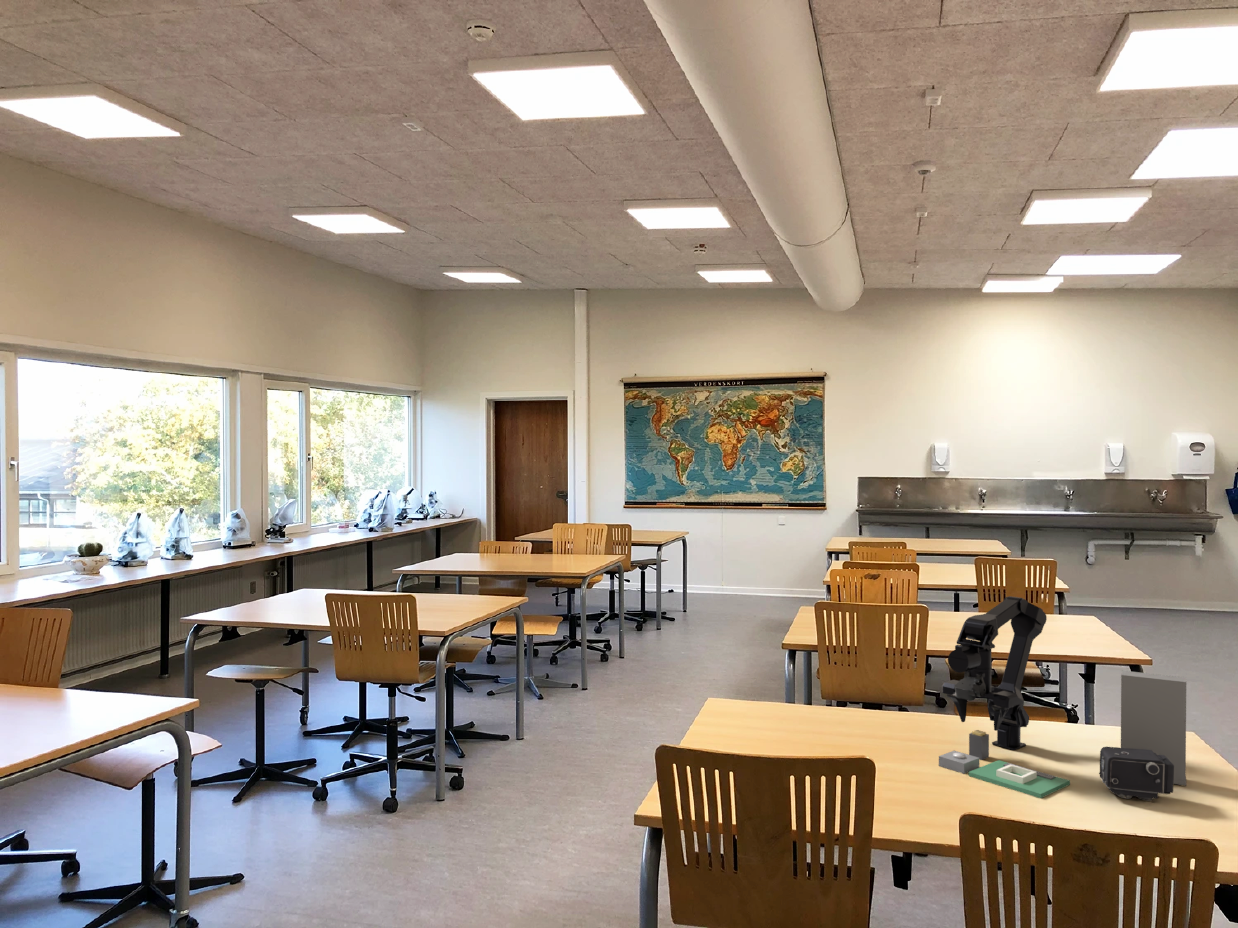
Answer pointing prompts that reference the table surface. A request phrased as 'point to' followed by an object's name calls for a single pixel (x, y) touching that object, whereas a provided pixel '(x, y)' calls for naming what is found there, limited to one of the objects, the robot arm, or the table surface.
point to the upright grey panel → (1155, 717)
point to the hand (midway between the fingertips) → (979, 725)
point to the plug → (979, 744)
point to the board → (1019, 778)
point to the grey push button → (959, 762)
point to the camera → (1136, 772)
